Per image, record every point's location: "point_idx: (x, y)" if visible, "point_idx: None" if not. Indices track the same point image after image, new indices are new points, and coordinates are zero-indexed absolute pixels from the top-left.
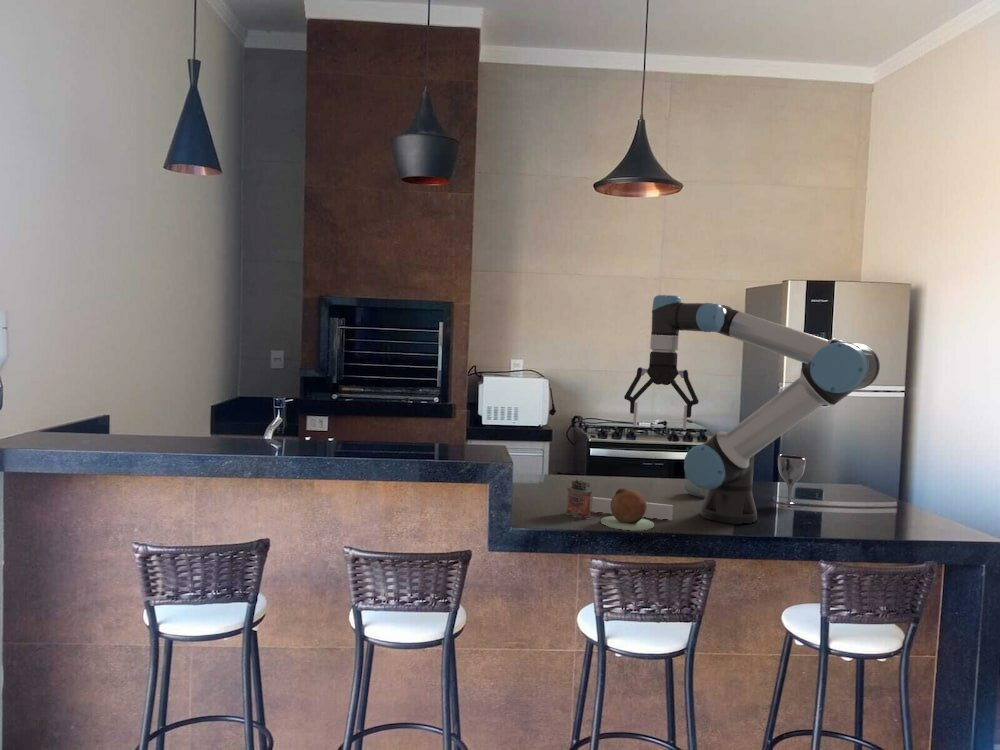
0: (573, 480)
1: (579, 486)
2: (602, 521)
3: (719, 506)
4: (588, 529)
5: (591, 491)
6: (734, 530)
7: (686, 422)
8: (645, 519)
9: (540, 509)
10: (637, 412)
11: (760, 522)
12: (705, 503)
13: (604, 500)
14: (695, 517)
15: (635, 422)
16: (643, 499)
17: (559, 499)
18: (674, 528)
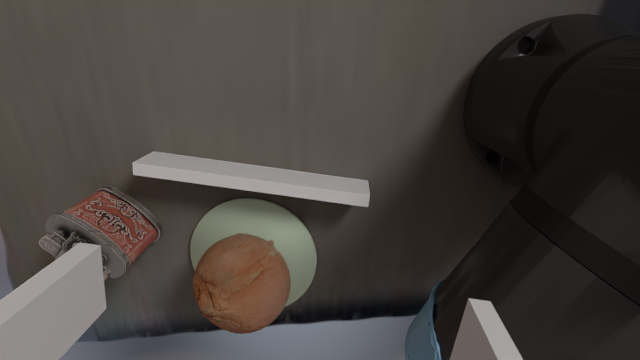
0: (47, 250)
1: None
2: (195, 268)
3: (518, 182)
4: (177, 317)
5: (125, 267)
6: None
7: (509, 344)
8: (295, 221)
9: (26, 174)
10: (15, 314)
11: None
12: (484, 135)
13: (170, 178)
14: (441, 134)
15: (84, 327)
16: (276, 314)
17: (28, 25)
18: (364, 264)
